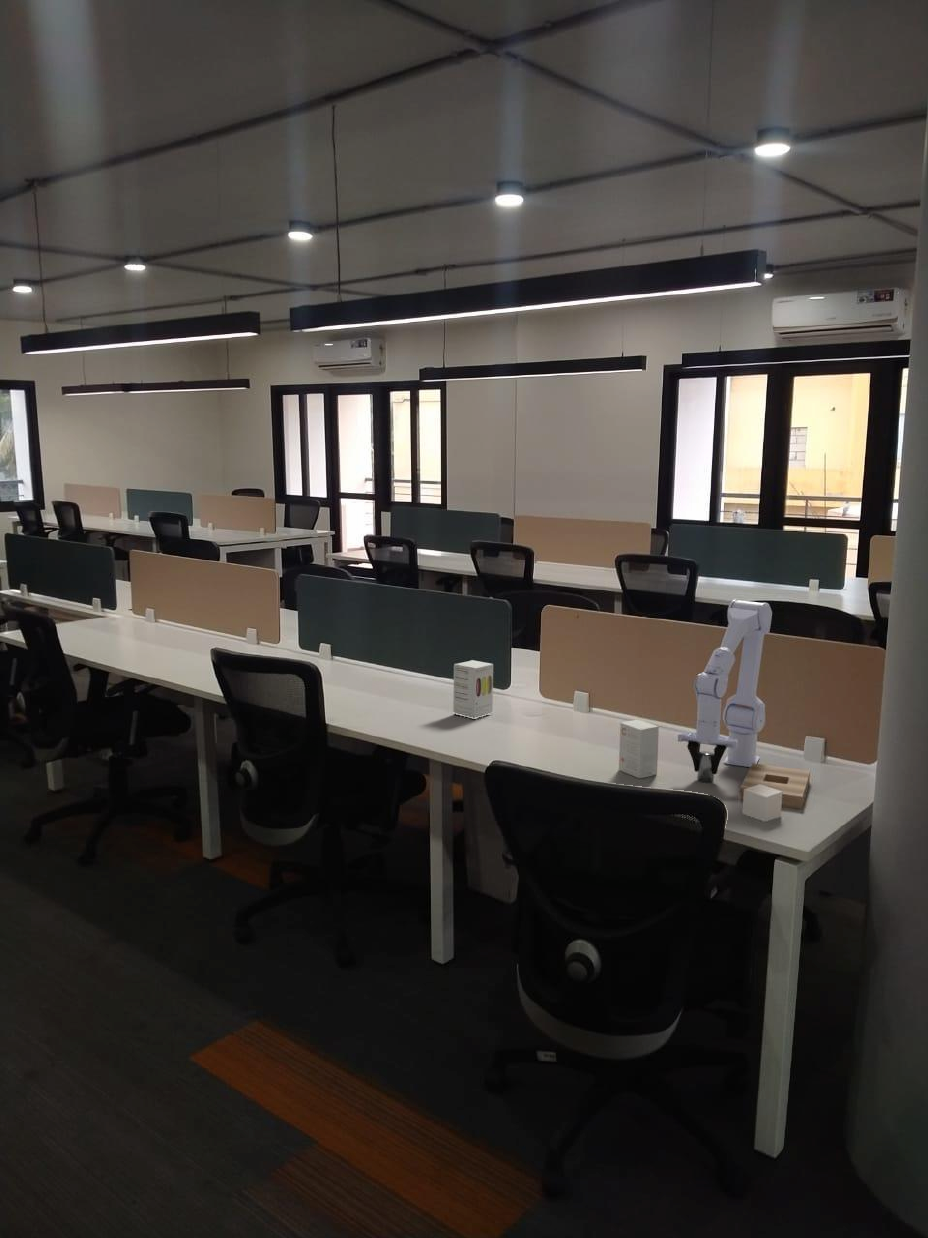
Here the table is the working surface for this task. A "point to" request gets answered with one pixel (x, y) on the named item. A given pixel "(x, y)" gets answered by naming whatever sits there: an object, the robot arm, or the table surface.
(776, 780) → the wooden socket block
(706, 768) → the steel pin
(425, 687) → the table surface
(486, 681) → the supplement box
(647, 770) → the small box
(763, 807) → the white cube
